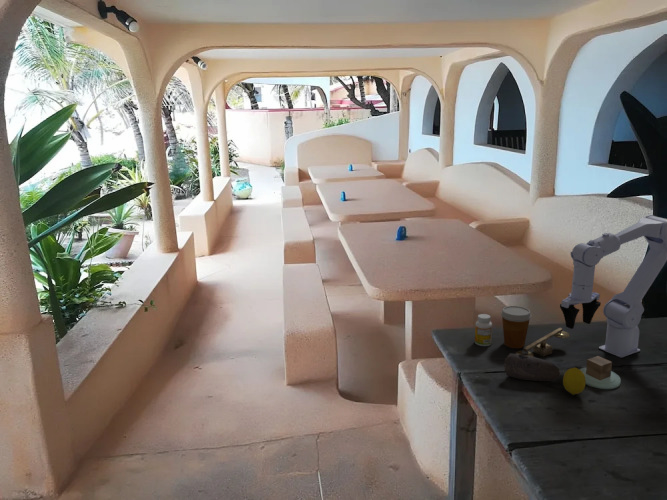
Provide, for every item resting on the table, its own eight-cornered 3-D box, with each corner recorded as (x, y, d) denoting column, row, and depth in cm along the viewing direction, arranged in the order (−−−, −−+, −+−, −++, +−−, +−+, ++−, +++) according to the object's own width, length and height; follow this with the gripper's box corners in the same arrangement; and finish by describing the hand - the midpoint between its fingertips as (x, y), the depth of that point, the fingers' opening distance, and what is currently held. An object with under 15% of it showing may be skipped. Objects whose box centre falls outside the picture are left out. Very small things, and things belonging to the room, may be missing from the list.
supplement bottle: (478, 338, 179) (479, 311, 176) (493, 342, 175) (495, 314, 173) (472, 344, 174) (473, 317, 172) (488, 348, 171) (489, 320, 169)
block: (596, 369, 152) (597, 355, 151) (610, 376, 148) (612, 362, 147) (585, 373, 150) (587, 359, 149) (599, 380, 146) (601, 365, 145)
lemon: (578, 388, 145) (580, 362, 143) (588, 399, 139) (590, 372, 137) (558, 389, 145) (560, 363, 143) (567, 400, 139) (570, 373, 137)
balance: (558, 342, 173) (560, 324, 172) (571, 348, 169) (573, 329, 167) (512, 357, 164) (513, 337, 163) (524, 363, 160) (526, 343, 158)
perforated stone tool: (559, 378, 151) (560, 356, 149) (559, 387, 146) (561, 365, 144) (504, 371, 156) (505, 349, 154) (503, 379, 151) (504, 357, 150)
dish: (594, 366, 157) (594, 363, 156) (629, 382, 147) (629, 378, 147) (568, 376, 152) (569, 372, 151) (603, 392, 142) (603, 389, 142)
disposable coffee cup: (493, 344, 174) (495, 310, 170) (508, 335, 180) (510, 303, 177) (520, 353, 167) (522, 318, 164) (534, 344, 173) (537, 310, 170)
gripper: (587, 276, 164) (582, 316, 168) (554, 283, 158) (550, 325, 161) (607, 282, 158) (602, 324, 161) (574, 290, 152) (570, 333, 155)
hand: (578, 325), depth 161 cm, fingers open, 7 cm apart
